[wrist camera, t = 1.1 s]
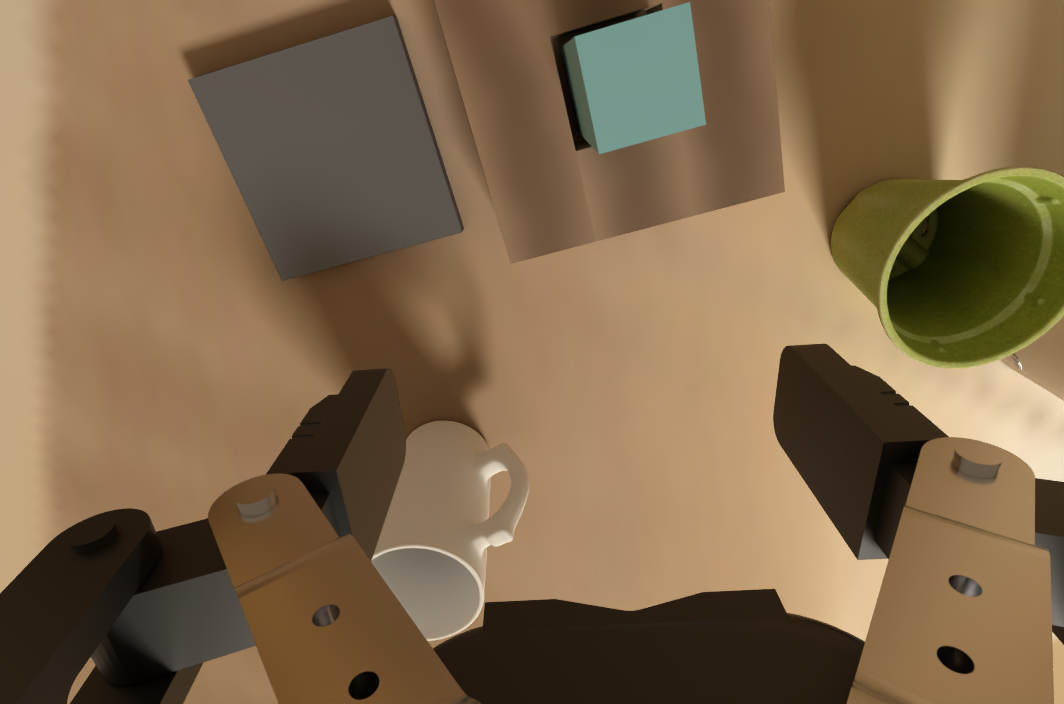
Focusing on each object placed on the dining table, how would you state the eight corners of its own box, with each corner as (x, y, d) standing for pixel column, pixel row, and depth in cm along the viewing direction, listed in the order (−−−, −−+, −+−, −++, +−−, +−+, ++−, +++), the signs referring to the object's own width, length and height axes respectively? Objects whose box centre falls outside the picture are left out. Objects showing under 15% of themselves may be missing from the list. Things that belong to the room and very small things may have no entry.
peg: (638, 25, 29) (690, 1, 20) (652, 110, 30) (706, 124, 21) (559, 48, 29) (574, 36, 20) (577, 131, 31) (599, 154, 22)
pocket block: (721, -124, 27) (755, -160, 23) (752, 177, 33) (784, 191, 29) (434, -32, 29) (418, -50, 25) (512, 241, 34) (510, 263, 30)
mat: (396, 17, 30) (392, 15, 29) (463, 227, 34) (462, 232, 33) (197, 79, 31) (187, 79, 30) (288, 275, 35) (282, 280, 34)
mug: (435, 510, 43) (403, 658, 32) (377, 444, 40) (322, 580, 29) (553, 449, 41) (563, 585, 30) (500, 376, 38) (490, 495, 27)
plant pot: (795, 170, 33) (880, 199, 25) (971, 126, 32) (1115, 143, 24) (804, 321, 37) (879, 387, 29) (960, 285, 36) (1082, 344, 28)
